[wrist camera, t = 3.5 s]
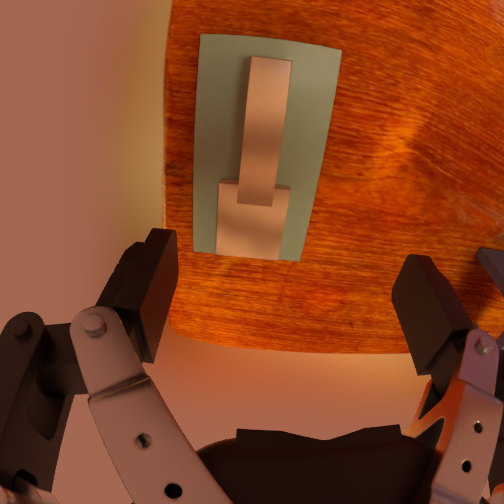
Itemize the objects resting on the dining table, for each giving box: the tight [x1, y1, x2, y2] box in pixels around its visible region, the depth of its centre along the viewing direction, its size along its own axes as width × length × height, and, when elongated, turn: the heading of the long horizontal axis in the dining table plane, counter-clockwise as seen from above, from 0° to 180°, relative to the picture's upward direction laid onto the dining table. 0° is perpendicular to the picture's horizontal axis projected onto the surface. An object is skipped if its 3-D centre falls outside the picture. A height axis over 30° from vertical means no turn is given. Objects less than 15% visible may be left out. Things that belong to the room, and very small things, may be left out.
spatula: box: [216, 56, 293, 260], centre depth 22 cm, size 17×6×4 cm, turn 174°
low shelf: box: [193, 34, 342, 261], centre depth 24 cm, size 10×19×3 cm, turn 174°
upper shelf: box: [473, 248, 504, 350], centre depth 31 cm, size 10×16×12 cm, turn 174°
